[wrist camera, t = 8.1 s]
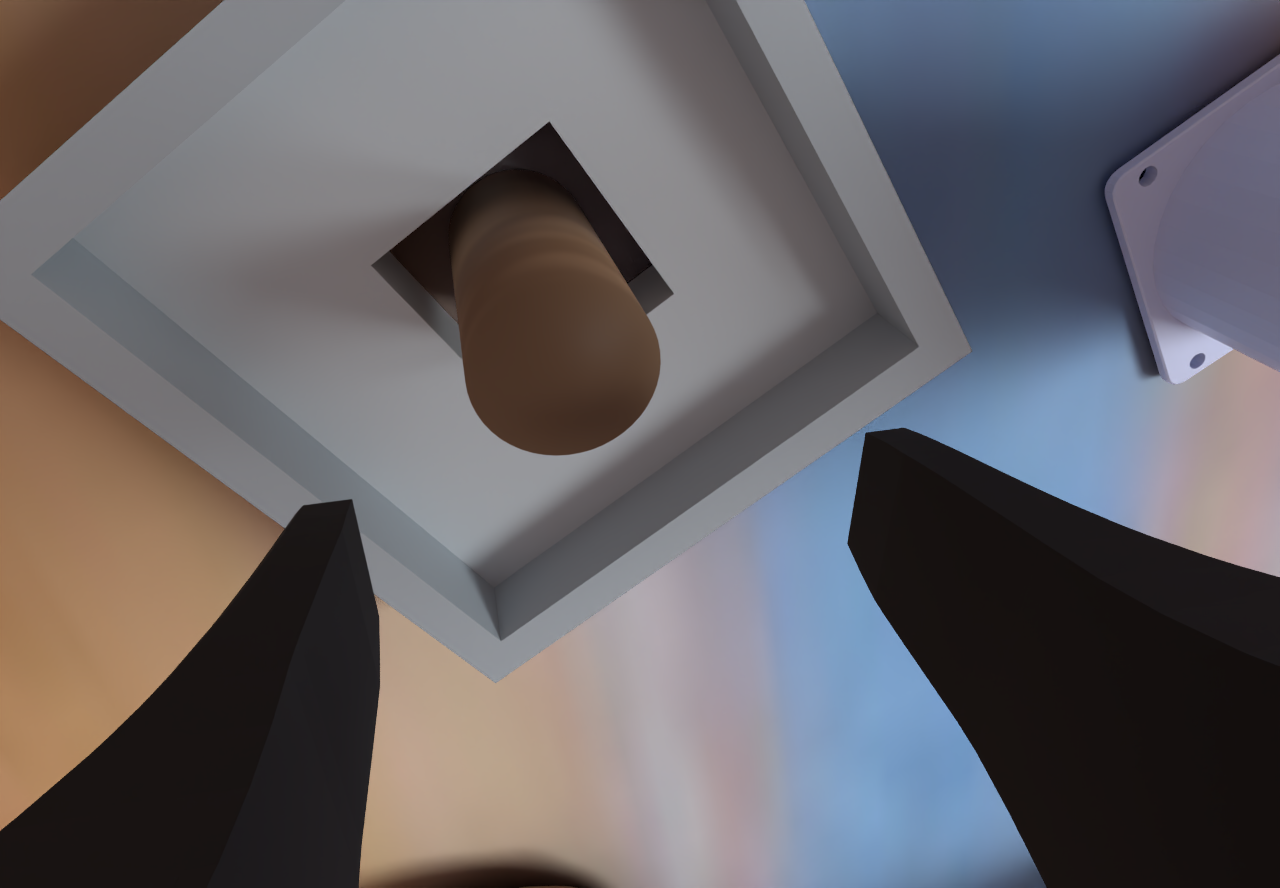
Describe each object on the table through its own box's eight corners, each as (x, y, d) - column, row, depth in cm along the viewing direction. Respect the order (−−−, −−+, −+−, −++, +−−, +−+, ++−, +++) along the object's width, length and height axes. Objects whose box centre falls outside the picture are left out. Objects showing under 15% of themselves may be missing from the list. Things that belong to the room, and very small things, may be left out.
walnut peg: (539, 140, 18) (598, 236, 12) (611, 258, 20) (693, 390, 14) (419, 220, 18) (422, 350, 13) (500, 329, 20) (536, 487, 14)
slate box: (580, -295, 14) (629, -364, 11) (888, 289, 22) (972, 351, 19) (24, 199, 16) (-73, 265, 13) (484, 580, 24) (495, 683, 21)
